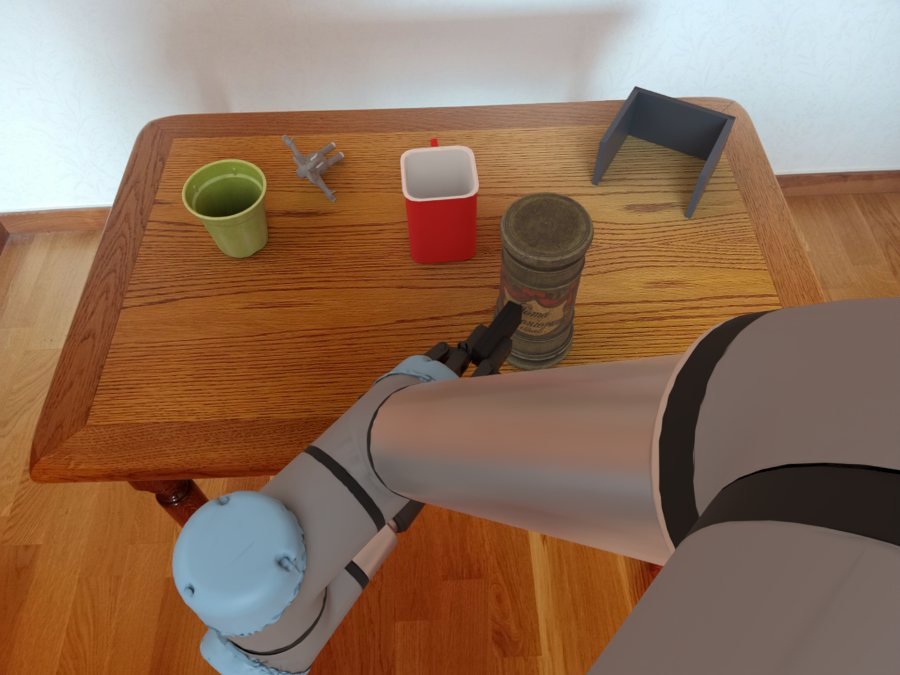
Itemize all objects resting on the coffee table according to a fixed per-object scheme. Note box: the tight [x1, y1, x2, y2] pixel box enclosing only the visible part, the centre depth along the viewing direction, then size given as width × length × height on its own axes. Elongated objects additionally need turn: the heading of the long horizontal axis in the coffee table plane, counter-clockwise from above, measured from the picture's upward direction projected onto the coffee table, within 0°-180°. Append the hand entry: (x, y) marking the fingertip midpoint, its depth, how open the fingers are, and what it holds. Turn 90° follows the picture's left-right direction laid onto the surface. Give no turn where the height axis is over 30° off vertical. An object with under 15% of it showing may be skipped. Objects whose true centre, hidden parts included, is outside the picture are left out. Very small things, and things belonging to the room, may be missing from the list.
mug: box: [399, 137, 480, 265], centre depth 82 cm, size 12×8×11 cm
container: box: [491, 191, 595, 371], centre depth 70 cm, size 9×9×18 cm
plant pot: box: [181, 158, 269, 259], centre depth 83 cm, size 9×9×9 cm
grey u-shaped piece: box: [591, 85, 737, 219], centre depth 89 cm, size 12×13×7 cm
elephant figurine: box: [281, 133, 345, 203], centre depth 90 cm, size 10×6×9 cm
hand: (514, 312), depth 68 cm, fingers closed
